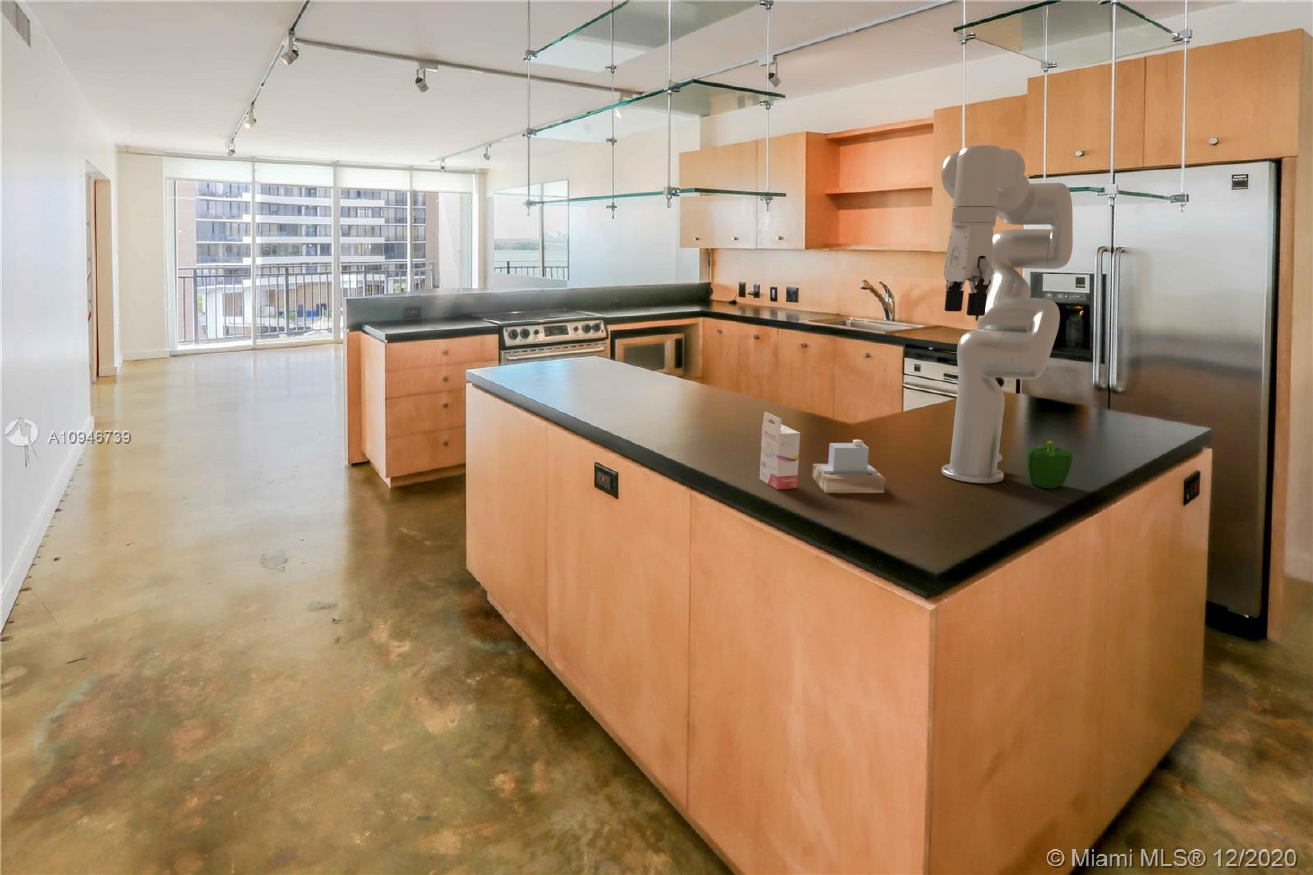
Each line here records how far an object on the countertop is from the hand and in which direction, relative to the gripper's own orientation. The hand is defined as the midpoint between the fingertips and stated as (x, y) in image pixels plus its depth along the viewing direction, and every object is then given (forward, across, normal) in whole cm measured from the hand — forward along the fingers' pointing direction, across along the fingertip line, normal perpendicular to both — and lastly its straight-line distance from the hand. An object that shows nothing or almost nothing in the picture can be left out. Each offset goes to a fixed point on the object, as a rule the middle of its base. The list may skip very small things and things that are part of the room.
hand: (963, 313), depth 146 cm
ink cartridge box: (+36, -10, -31) cm, 49 cm away
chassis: (+36, -9, -17) cm, 41 cm away
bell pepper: (+36, -9, +25) cm, 45 cm away
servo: (+36, -10, -17) cm, 41 cm away
